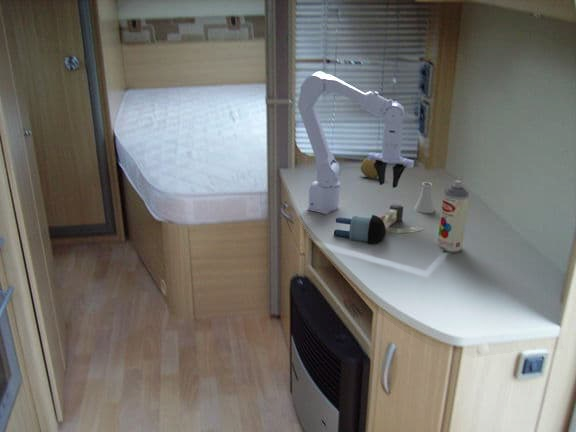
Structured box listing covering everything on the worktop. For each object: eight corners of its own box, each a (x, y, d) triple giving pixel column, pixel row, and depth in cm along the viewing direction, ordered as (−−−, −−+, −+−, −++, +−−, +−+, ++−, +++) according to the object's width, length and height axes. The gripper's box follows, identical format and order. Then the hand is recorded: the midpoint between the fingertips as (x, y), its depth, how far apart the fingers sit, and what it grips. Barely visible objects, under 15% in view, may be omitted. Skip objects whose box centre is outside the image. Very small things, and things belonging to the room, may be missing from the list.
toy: (334, 242, 176) (384, 249, 172) (328, 236, 168) (381, 243, 164) (339, 215, 178) (389, 221, 173) (333, 207, 170) (386, 213, 165)
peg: (392, 216, 187) (393, 202, 185) (404, 219, 185) (405, 205, 183) (372, 231, 176) (374, 216, 174) (385, 234, 174) (386, 219, 172)
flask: (435, 218, 190) (439, 188, 186) (412, 215, 191) (415, 186, 187) (435, 209, 196) (438, 181, 193) (412, 207, 198) (415, 179, 194)
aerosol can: (432, 245, 170) (439, 179, 163) (451, 241, 173) (460, 176, 165) (447, 255, 164) (455, 186, 157) (466, 251, 167) (476, 183, 159)
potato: (359, 174, 230) (360, 154, 227) (378, 174, 230) (380, 154, 227) (363, 180, 223) (364, 160, 220) (383, 180, 224) (384, 159, 221)
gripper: (364, 142, 182) (361, 184, 187) (409, 149, 175) (405, 193, 180) (374, 137, 187) (371, 178, 193) (418, 144, 180) (413, 187, 185)
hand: (388, 185), depth 187 cm, fingers open, 4 cm apart
